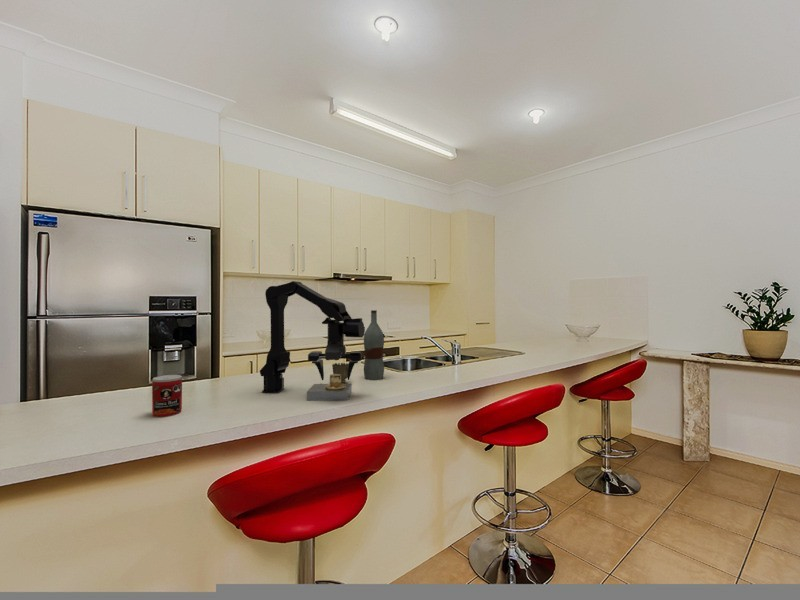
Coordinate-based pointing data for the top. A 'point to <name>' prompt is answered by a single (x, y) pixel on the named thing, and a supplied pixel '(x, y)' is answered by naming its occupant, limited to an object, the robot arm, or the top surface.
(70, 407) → the top surface
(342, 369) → the cup
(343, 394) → the block
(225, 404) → the top surface
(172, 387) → the canned food
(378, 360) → the bottle
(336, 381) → the brass bushing
